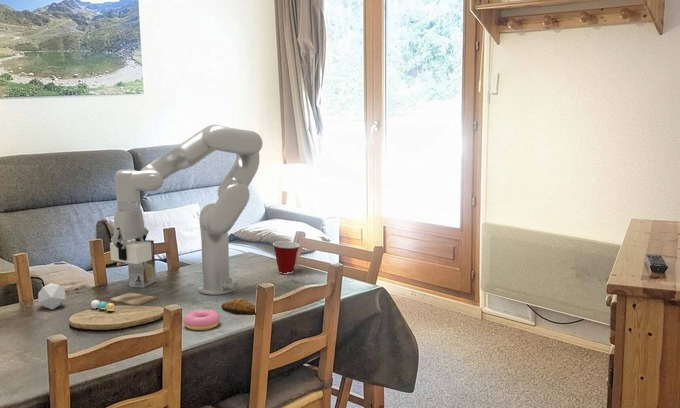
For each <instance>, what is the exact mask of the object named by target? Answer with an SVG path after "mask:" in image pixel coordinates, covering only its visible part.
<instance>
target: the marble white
mask: <svg viewBox="0 0 680 408" xmlns="http://www.w3.org/2000/svg"><path fill="white" fill-rule="evenodd" d="M100 302H101V301H100V300H97V299H94V300H93V299H92V301H91V302H90V307H91V308H92V309H93V310H97V309H96V308H98V304H99V303H100ZM98 309H99V308H98Z"/></svg>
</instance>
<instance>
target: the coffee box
mask: <svg viewBox="0 0 680 408" xmlns="http://www.w3.org/2000/svg"><path fill="white" fill-rule="evenodd" d="M145 242H151V251H152V260H149V261H145V262H142V263H139V264H133V263H127V268H128V283H129V287H130V288H143V289H144V288H147V287H148V286H149V285H152V284H153V283H155V282H157V278H156V260H155V259H156V258H155V240H151V239H145Z"/></svg>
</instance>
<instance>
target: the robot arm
mask: <svg viewBox="0 0 680 408" xmlns="http://www.w3.org/2000/svg"><path fill="white" fill-rule="evenodd" d="M262 139H263V138H262V137H261V135H260V133H257V132H256V131H253V130H247V129H240V128H233V127H228V126H223V125H219V124H210V125H208V126H206V127H204V128H202V129H201V130H199V131H198V132H196V133H195V134H194V135H193V134H192V136H190V137H189V138H188V139H186V140H184V141H183V142H181V143H180V144H178V145H176V146H175V147H174V148H172V149H170V150H169V151H168V152H165V153H164V154H162V155H161V156H159V157H158V158H156V159H154V160H153V161H152V162H150V163H148V164H147V165H146V166H144V167H143V168H141V169H140V170H136V169H119V170H117V171H116V172H115V193H116V194H115V195H116V208H117V209H116V211H115V213H114V219H113V235H112V237H111V238H110V241H111V243H112V242H113V243H114V245H115V246H116V248H118V254H119V260H127V253H126V249H125V246H126V243H127V241H128V240H136V241H143V242H145V240H147V236H148V234H149V230H148V229H147V228H146V227H145V222H144V220H145V219H144V215H143V211H142V209H141V205H142V202H141V195H140V194H141V192H142V191H143V192H155V191H158V190H159V189H161V188H162V187H163V184H164V180H165V179H167V178H169V177H171V176H172V175H173V174H175V173H177V172H179V171H182V170H186V169H190V168H191V167H193V166H194V165H197V164H198V163H199V162H201V161H202V160H204V159H205V158H206V157H208V156H209V155H211V154H212V153H214V152H216V151H218V152H219V151H220V152H224V153H230V154H235V155H236V157H235V160H234V162H233V165H232V166H231V168H230V170H229V172H228V173H227V174H226V176H225V177H224V179H223V180H222V181H221V183H220V184H219V186H218V189H217V196H218V199H217V200H216V201H215V203H208V204H206V205H204V207H202V208H201V210H200V213H199V216H198V217H199V222H198V223H199V230H200V239H201V240H200V241H201V242H200V244H201V245H200V246H201V267H202V268H201V269H202V270H201V271H202V285H201V286H199V287H198V293H200V294H203V295H208V296H219V295H225V294H226V295H227V294H229V293H232V292H233V291H235V290H236V289H237V286H238V283H237V282H234V281H233V278H232V277H230V256H229V253H230V252H229V249H230V248H229V232H230V231H231V229H232V228H233V227H234V225H235V224H236V222H237V221H238V219H239V218H240V217H241V214H242V213H243V212H244V209H245V208H246V207H247V206H248V203H249V200H250V195H251V194H250V190H249V186H250V185H251V182H252V181H253V179H254V177H255V176H256V174H257V171H258V169H259V166H260V151H261V150H262V148H263V140H262ZM140 191H141V192H140ZM122 242H123V243H122ZM121 243H122V244H121Z"/></svg>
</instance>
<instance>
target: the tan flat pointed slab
mask: <svg viewBox="0 0 680 408" xmlns="http://www.w3.org/2000/svg"><path fill="white" fill-rule="evenodd" d="M157 299H158V297H157V296H153V295H148V294H147V295H146V294H140V293H135V292H126V293H124V294H120V295H118V296H115V297H112V298H111V297H110V299H109V301H111V302H118V303H122V304H126V305H132V306H133V305H134V306H140V305H144V304H146V303H149V302H151V301H154V300H157Z"/></svg>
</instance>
